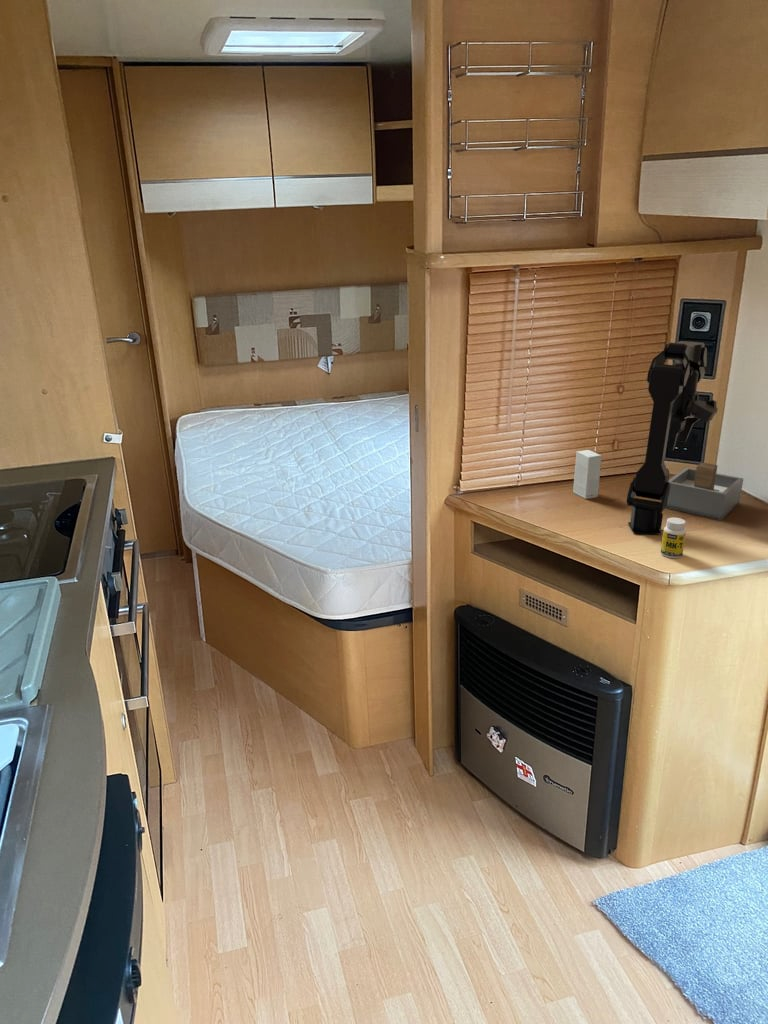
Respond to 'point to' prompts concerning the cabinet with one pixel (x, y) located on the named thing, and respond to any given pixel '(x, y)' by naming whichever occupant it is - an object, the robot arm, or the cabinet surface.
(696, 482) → the walnut peg
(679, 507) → the peg socket
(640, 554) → the cabinet surface
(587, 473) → the skincare box
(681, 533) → the supplement bottle
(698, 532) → the cabinet surface
